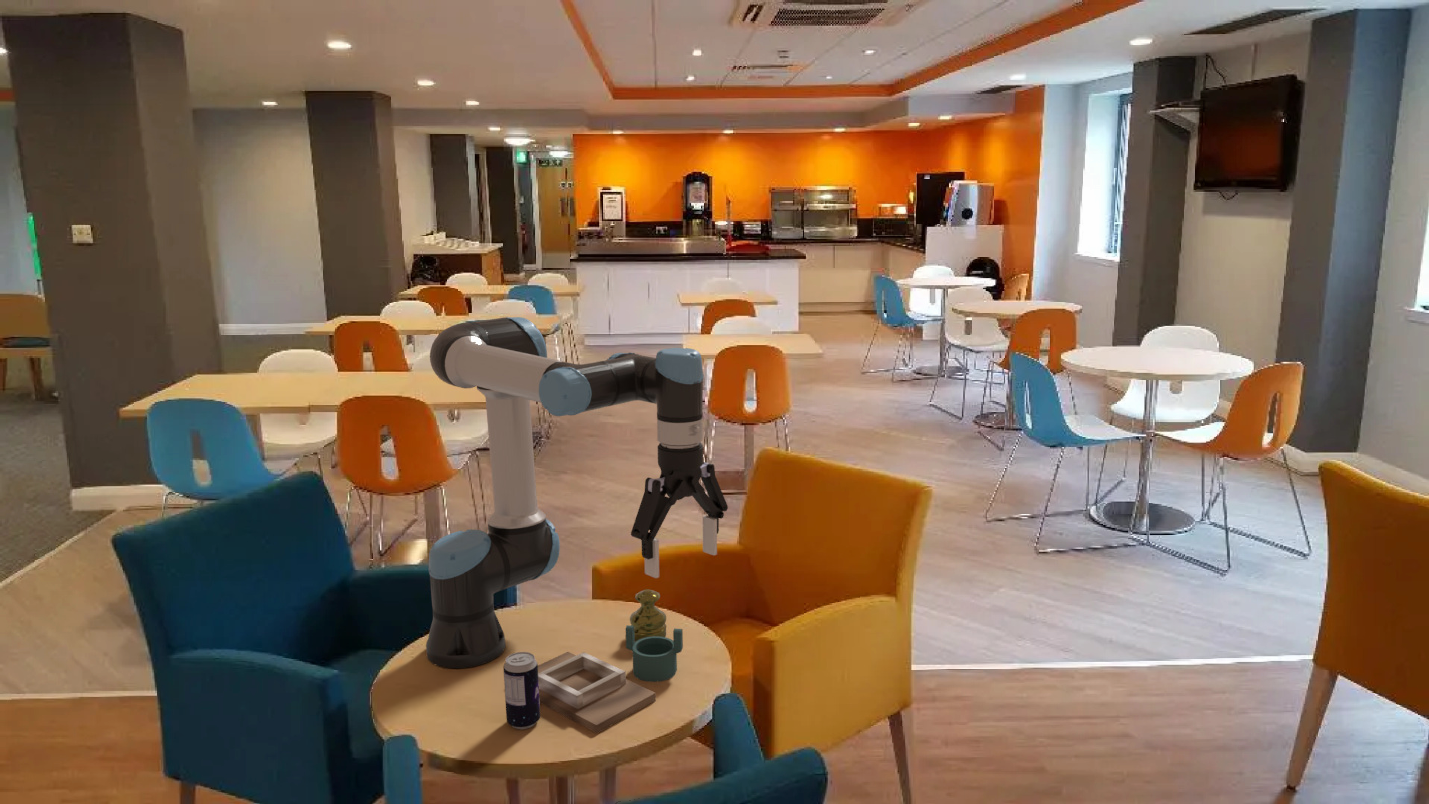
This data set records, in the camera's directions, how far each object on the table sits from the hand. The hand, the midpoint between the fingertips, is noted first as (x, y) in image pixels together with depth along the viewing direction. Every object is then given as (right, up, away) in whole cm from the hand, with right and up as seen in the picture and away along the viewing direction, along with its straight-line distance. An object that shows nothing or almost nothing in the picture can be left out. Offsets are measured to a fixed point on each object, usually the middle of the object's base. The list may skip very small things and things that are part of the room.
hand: (681, 564), depth 164 cm
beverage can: (-27, -28, +2) cm, 39 cm away
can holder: (-19, -25, +12) cm, 34 cm away
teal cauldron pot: (-6, -24, +20) cm, 32 cm away
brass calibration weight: (-8, -21, +34) cm, 40 cm away
